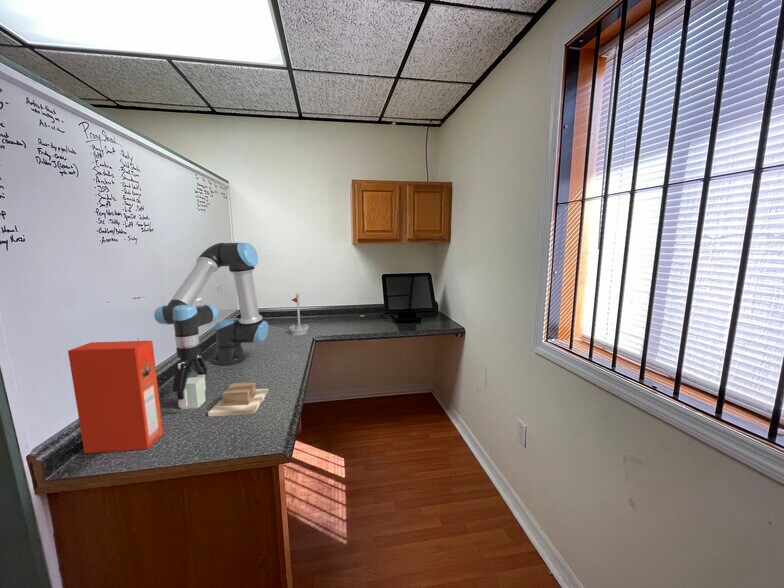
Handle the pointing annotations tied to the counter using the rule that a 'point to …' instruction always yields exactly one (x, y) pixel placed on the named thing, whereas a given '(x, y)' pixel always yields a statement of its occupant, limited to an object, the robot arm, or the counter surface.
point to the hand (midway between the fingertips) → (193, 398)
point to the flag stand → (298, 329)
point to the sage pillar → (195, 392)
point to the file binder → (116, 395)
